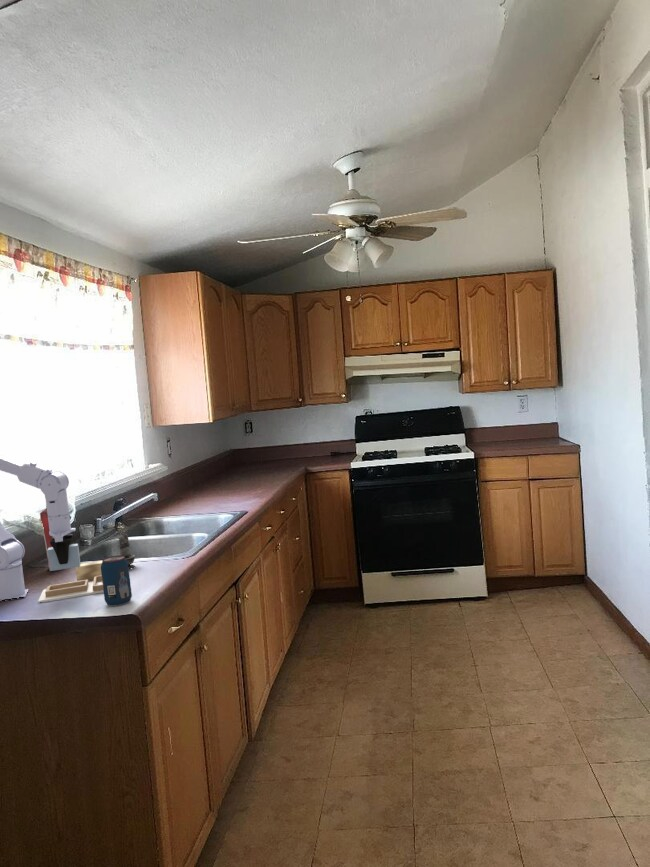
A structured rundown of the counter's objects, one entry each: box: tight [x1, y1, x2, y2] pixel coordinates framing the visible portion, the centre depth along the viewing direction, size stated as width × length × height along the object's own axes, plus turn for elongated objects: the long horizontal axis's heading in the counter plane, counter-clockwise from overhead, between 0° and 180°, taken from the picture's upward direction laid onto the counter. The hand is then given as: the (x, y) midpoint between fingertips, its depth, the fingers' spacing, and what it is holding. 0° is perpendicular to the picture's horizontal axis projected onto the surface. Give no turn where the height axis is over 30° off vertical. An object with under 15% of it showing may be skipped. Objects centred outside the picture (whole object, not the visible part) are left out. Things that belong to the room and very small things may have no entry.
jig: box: [37, 575, 104, 604], centre depth 204 cm, size 21×13×2 cm, turn 105°
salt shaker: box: [118, 530, 136, 570], centre depth 226 cm, size 6×6×12 cm
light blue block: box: [46, 543, 82, 572], centre depth 202 cm, size 8×4×6 cm, turn 105°
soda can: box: [101, 554, 133, 607], centre depth 187 cm, size 7×7×12 cm
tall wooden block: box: [74, 560, 102, 582], centre depth 216 cm, size 9×4×5 cm, turn 105°
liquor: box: [39, 505, 53, 568], centre depth 235 cm, size 7×7×28 cm
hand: (64, 562), depth 202 cm, fingers closed on light blue block, 3 cm apart
